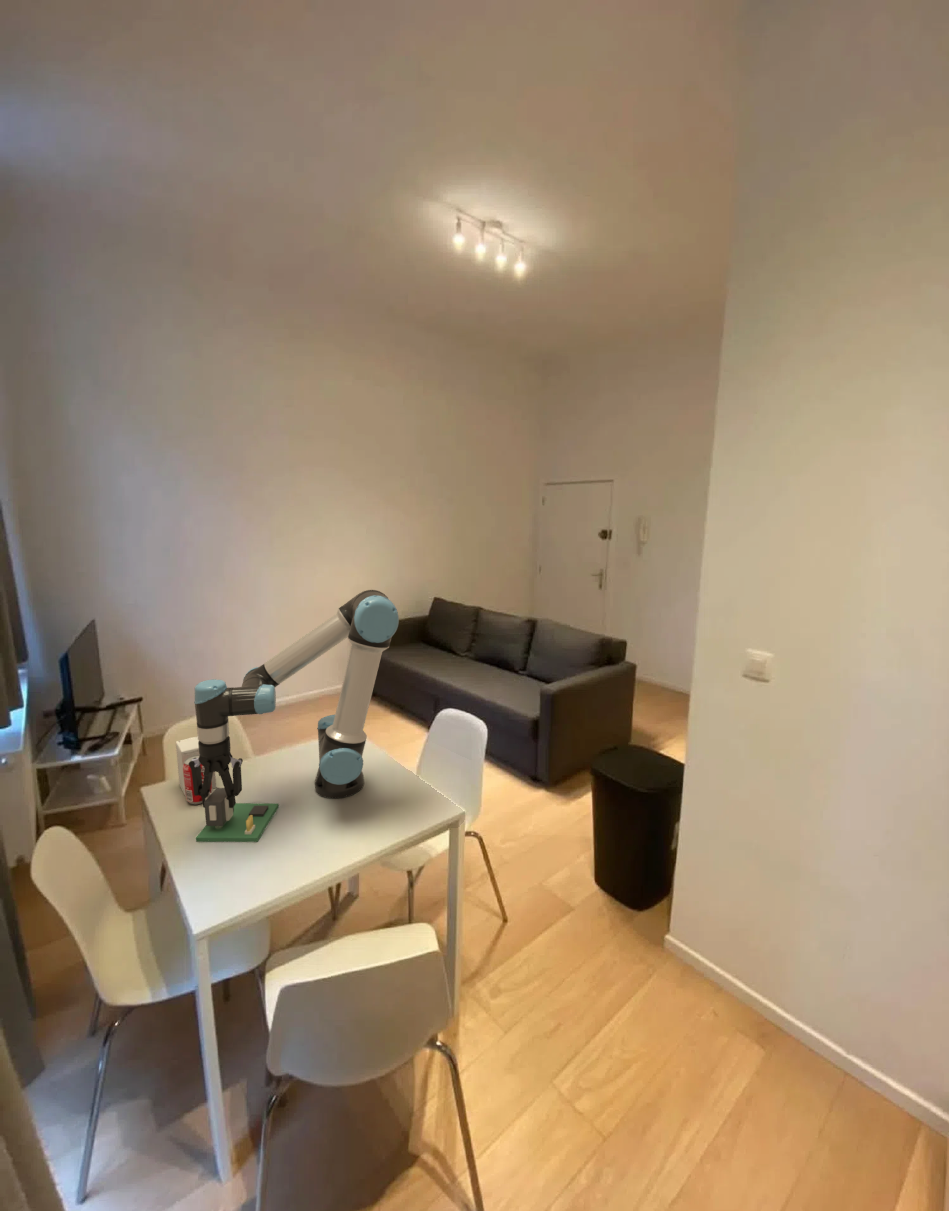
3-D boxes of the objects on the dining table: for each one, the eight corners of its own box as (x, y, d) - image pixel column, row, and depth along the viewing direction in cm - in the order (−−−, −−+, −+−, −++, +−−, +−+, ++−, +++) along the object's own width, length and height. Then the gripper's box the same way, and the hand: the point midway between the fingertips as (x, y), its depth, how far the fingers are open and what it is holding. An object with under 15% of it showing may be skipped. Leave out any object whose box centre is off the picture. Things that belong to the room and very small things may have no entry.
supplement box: (184, 797, 158) (180, 751, 155) (179, 785, 165) (174, 740, 162) (217, 787, 163) (213, 743, 160) (210, 776, 170) (206, 733, 167)
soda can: (202, 807, 153) (198, 766, 151) (180, 803, 155) (176, 763, 152) (218, 794, 160) (214, 754, 157) (197, 791, 161) (194, 752, 159)
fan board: (278, 807, 154) (277, 791, 153) (257, 841, 138) (256, 824, 137) (223, 806, 153) (222, 791, 152) (196, 841, 138) (194, 824, 137)
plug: (234, 810, 147) (232, 788, 145) (221, 827, 139) (220, 803, 138) (218, 810, 147) (216, 787, 145) (205, 826, 139) (203, 803, 138)
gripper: (252, 732, 142) (257, 809, 147) (188, 731, 142) (195, 809, 147) (241, 745, 135) (246, 826, 140) (172, 744, 135) (180, 825, 139)
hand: (220, 817), depth 143 cm, fingers closed on plug, 4 cm apart
